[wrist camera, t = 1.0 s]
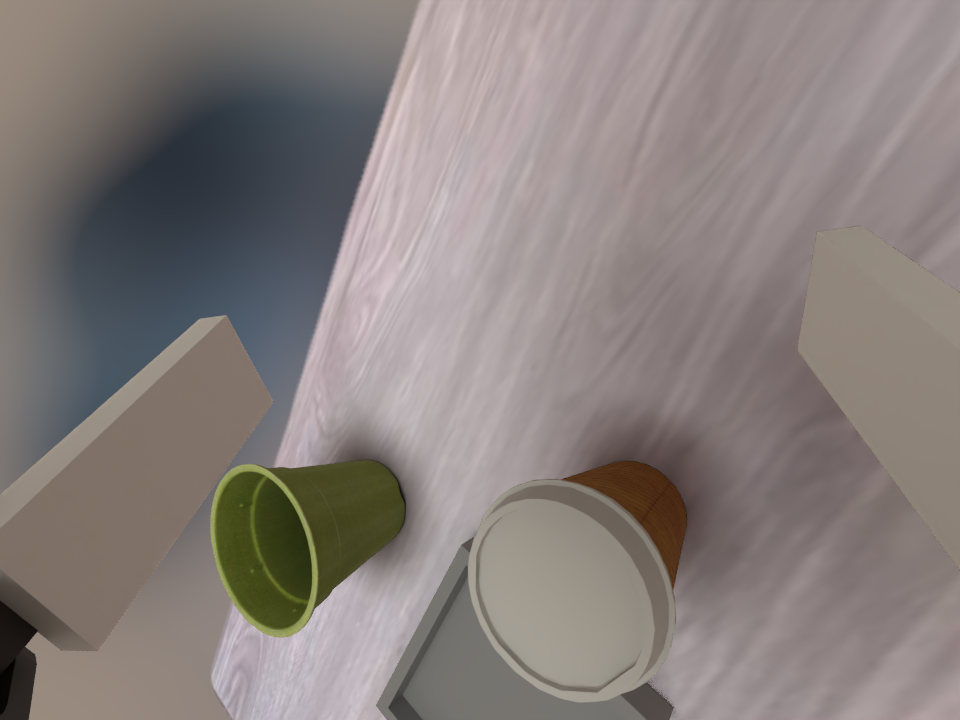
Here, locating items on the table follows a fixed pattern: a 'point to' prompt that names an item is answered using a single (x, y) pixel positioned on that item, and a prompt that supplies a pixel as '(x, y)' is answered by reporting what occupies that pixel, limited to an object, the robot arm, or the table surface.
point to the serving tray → (484, 672)
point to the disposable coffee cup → (581, 579)
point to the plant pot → (298, 535)
